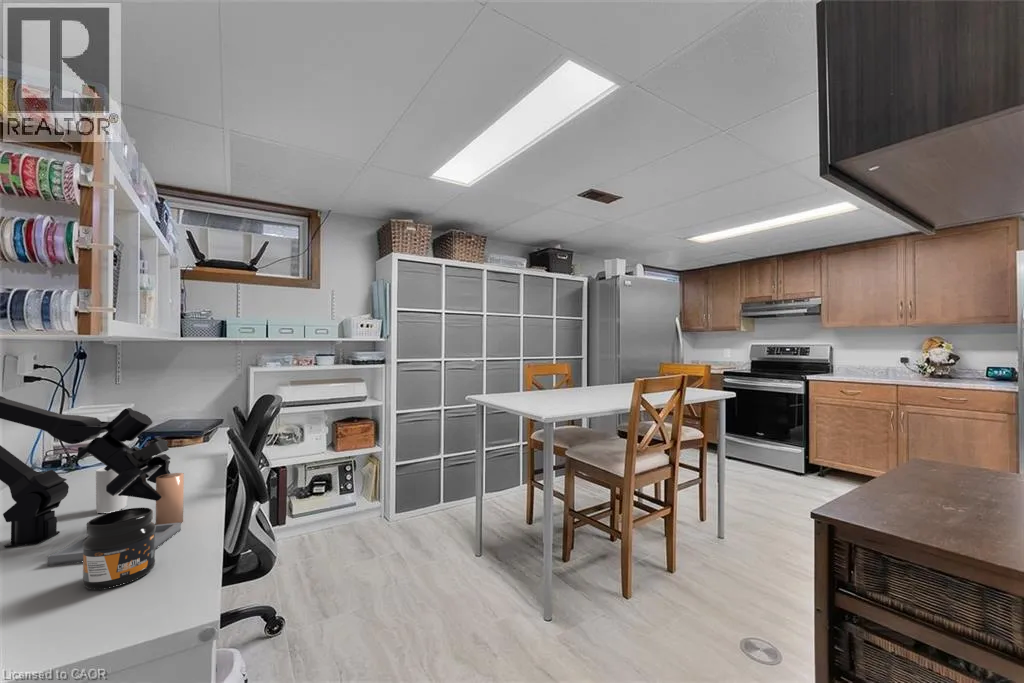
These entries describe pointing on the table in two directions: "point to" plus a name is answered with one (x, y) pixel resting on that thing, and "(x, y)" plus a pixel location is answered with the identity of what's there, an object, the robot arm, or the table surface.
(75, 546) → the charcoal tray
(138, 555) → the supplement container
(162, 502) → the terracotta cup
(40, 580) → the table surface
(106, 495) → the mug
